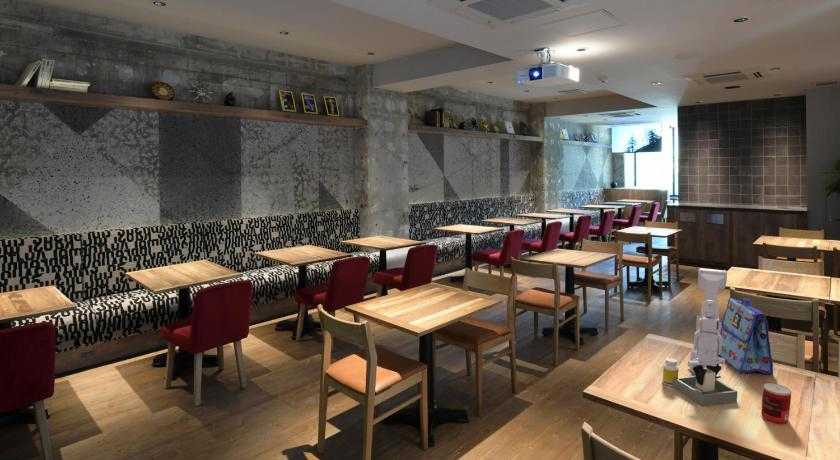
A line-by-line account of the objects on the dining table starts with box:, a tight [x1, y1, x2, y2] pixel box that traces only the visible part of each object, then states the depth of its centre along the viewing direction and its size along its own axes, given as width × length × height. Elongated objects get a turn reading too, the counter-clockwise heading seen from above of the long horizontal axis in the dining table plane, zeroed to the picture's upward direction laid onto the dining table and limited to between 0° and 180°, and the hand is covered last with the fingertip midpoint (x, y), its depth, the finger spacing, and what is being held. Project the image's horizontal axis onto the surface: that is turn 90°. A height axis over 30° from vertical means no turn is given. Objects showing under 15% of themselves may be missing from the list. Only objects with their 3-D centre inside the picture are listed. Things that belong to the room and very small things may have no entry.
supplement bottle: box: [661, 357, 680, 387], centre depth 192 cm, size 5×5×10 cm
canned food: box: [760, 382, 792, 425], centre depth 165 cm, size 8×8×11 cm
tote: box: [673, 375, 738, 407], centre depth 183 cm, size 15×15×4 cm
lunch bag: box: [718, 297, 774, 376], centre depth 208 cm, size 22×14×29 cm, turn 172°
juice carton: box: [696, 368, 716, 392], centre depth 182 cm, size 5×4×8 cm
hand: (705, 383), depth 182 cm, fingers closed on juice carton, 4 cm apart
